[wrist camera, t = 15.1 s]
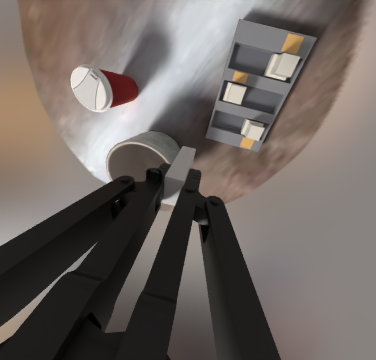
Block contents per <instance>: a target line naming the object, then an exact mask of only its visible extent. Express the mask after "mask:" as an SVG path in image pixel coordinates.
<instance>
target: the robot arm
mask: <svg viewBox="0 0 376 360" xmlns="http://www.w3.org/2000/svg"><path fill="white" fill-rule="evenodd" d="M195 151H196V149H194V148H190V147H186V146H183V147H182V148H181V150H180V152H179V153H178V155H177V157H176V158H175V160H174V162H173V163H172V164H168V163H163V164H161V165H160V167H159V168H149V169H147V170H146V180H145V181H142V182H139V181H135V179H134V178H133V177H132V176H126V175H125V176H120V177H118V178H116V179H115V180H113V181H111V182H109V183H108V184H106V185H104V186H103V187H101V188H99V189H98V190H96V191H94V192H92V193H91V194H89V195H87V196H85V197H84V198H82V199H80V200H79V201H77V202H75V203H73V204H72V205H70V206H68V207H67V208H65V209H63V210H61V211H60V212H58V213H56V214H55V215H53V216H51V217H49V218H48V219H46V220H44V221H43V222H41V223H39V224H37V225H36V226H34V227H32V228H31V229H29V230H27V231H26V232H24V233H22V234H20V235H19V236H17V237H15V238H13V239H12V240H10V241H8V242H7V243H5V244H3V245H2V246H0V327H1V326H2V325H3V324H4V323H6V322H7V321H8V320H10V319H11V318H12V317H14V316H15V315H16V314H17V313H18V312H20V311H21V310H22V309H23V308H24V307H25V306H27V305H28V304H29V303H30V302H31V301H32V300H33V299H34V298H36V297H37V296H38V295H39V294H40V293H41V292H42V291H43V290H44V289H46V288H47V287H48V286H49V285H50V284H51V283H52V282H53V281H54V280H55V279H57V278H58V277H59V276H60V275H61V274H62V273H63V272H64V271H66V270H67V269H68V268H69V267H70V266H71V265H72V264H73V263H74V262H76V261H77V260H78V259H79V258H80V257H81V256H82V255H83V254H84V253H86V252H87V251H88V250H89V249H90V248H91V247H92V246H93V245H94V244H96V243H97V244H96V245H95V246H94V248H93V249H92V250H91V252H90V253H89V254H88V255H87V257H86V258H85V259H84V260H83V262H82V263H81V264H80V266H79V267H78V268H77V269H76V270H74V271H71V272H68V273H66V274H65V275H63V276H62V277H61V278H60V279H59V280H58V281H57V282H56V284H55V285H54V286H53V287H52V288H51V290H50V291H49V292H48V293H47V295H46V296H45V297H44V298H43V299H42V301H41V302H40V303H39V304H38V306H37V307H36V308H35V309H34V310H33V312H32V313H31V314H30V315H29V317H28V318H27V319H26V320H25V321H24V323H23V324H22V325H21V326H20V327H19V329H18V330H17V331H16V332H15V333H14V335H13V336H11V337H10V338H8V339H7V340H5V341H4V342H2V343H1V344H0V360H171V359H170V358H169V356H168V355H167V351H168V346H169V340H170V336H171V330H172V325H173V320H174V315H175V310H176V304H177V296H178V291H179V286H180V281H181V276H182V271H183V266H184V261H185V256H186V251H187V246H188V241H189V236H190V231H191V226H192V221H193V220H194V221H196V222H198V223H199V232H200V239H201V246H202V253H203V261H204V268H205V275H206V282H207V289H208V297H209V304H210V311H211V318H212V325H213V332H214V340H215V347H216V354H217V360H281V359H280V356H279V353H278V350H277V348H276V345H275V342H274V340H273V337H272V334H271V332H270V328H269V326H268V323H267V320H266V317H265V315H264V312H263V309H262V307H261V304H260V301H259V298H258V296H257V293H256V290H255V287H254V285H253V282H252V279H251V277H250V274H249V271H248V268H247V265H246V263H245V260H244V257H243V254H242V252H241V249H240V246H239V244H238V241H237V238H236V235H235V232H234V230H233V227H232V224H231V221H230V219H229V216H228V213H227V210H226V208H225V205H224V202H223V201H222V200H221V199H220V198H218V197H216V196H209V197H207V198H206V197H204V196H202V195H201V194H200V193H199V184H200V179H201V172H200V170H195V169H192V166H193V161H194V156H195ZM162 199H163V202H162V203H165V204H169V205H173V206H175V207H174V209H173V212H172V215H171V218H170V220H169V223H168V226H167V228H166V231H165V234H164V237H163V239H162V242H161V245H160V247H159V250H158V253H157V255H156V258H155V261H154V263H153V266H152V269H151V271H150V274H149V277H148V280H147V282H146V285H145V287H144V290H143V291H142V292H141V294H140V296H139V298H138V300H137V303H136V305H135V308H134V310H133V313H132V316H131V318H130V321H129V323H128V326H127V329H126V331H125V332H115V333H104V332H105V329H106V327H107V325H108V323H109V320H110V318H111V316H112V313H113V310H114V305H115V302H116V300H117V297H118V295H119V293H120V291H121V289H122V287H123V285H124V283H125V280H126V278H127V276H128V274H129V272H130V270H131V268H132V266H133V264H134V261H135V259H136V257H137V255H138V253H139V251H140V249H141V247H142V245H143V243H144V240H145V238H146V236H147V234H148V232H149V230H150V228H151V226H152V224H153V222H154V220H155V218H156V215H157V213H158V211H159V209H160V207H161V201H162ZM117 200H118V201H117ZM116 201H117V202H116Z"/></svg>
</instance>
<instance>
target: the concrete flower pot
mask: <svg viewBox="0 0 376 360" xmlns="http://www.w3.org/2000/svg"><path fill="white" fill-rule="evenodd" d="M179 152H180V148H179V146H178V144H177V143H176V142H175V141H174V140H173V139H172V138H171V137H170V136H168V135H166V134H164V133H161V132H155V131H150V132H145V133H142V134H139V135H137V136H134V137H132V138H130V139H127V140H125V141H123V142H120V143H118V144H116V145H115V146H114V147H113V148H112V149H111V150H110V151H109V153H108V155H107V159H106V169H107V173H108V176H109V178H110V180H111V181H113V180H115V179H116V178H118V177H120V176H125V175H126V176H132V177H133V178H134V179H135V181H139V182H142V181H145V180H146V170H147V169H149V168H159V167H160V165H161V164H163V163H168V164H172V163H173V162H174V160H175V158H176V157H177V155H178V153H179ZM162 202H163V199H162V201H161V203H162Z"/></svg>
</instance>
